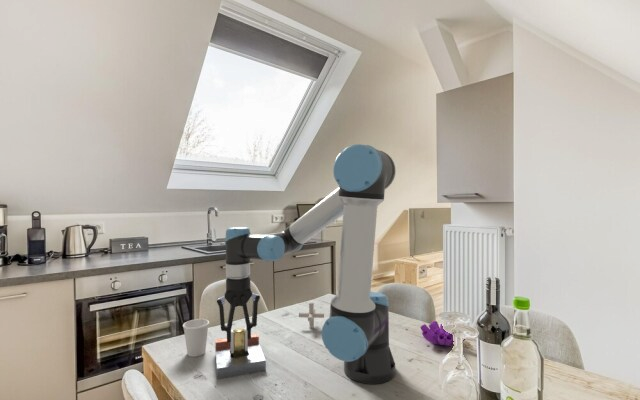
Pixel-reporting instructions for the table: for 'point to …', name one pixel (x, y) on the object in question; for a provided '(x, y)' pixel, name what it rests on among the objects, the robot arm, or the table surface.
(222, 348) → the jig
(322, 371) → the table surface
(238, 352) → the brass cylinder
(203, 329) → the dixie cup
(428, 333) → the pipe connector assembly
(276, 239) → the robot arm
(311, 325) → the pipe connector
